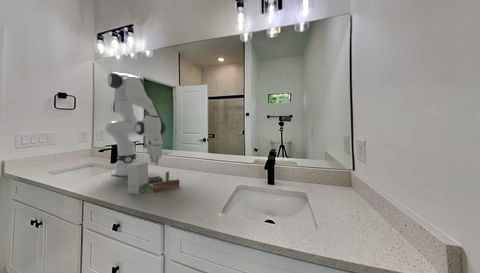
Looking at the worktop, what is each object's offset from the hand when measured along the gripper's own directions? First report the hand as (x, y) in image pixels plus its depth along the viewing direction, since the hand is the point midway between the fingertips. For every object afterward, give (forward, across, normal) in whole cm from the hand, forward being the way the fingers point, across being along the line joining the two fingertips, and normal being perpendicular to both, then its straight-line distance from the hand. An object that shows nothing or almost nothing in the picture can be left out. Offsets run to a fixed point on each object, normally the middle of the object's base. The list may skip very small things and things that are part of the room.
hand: (154, 163), depth 110 cm
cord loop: (+13, -1, 0) cm, 13 cm away
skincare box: (+13, +8, -10) cm, 19 cm away
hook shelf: (+13, +9, +3) cm, 16 cm away
